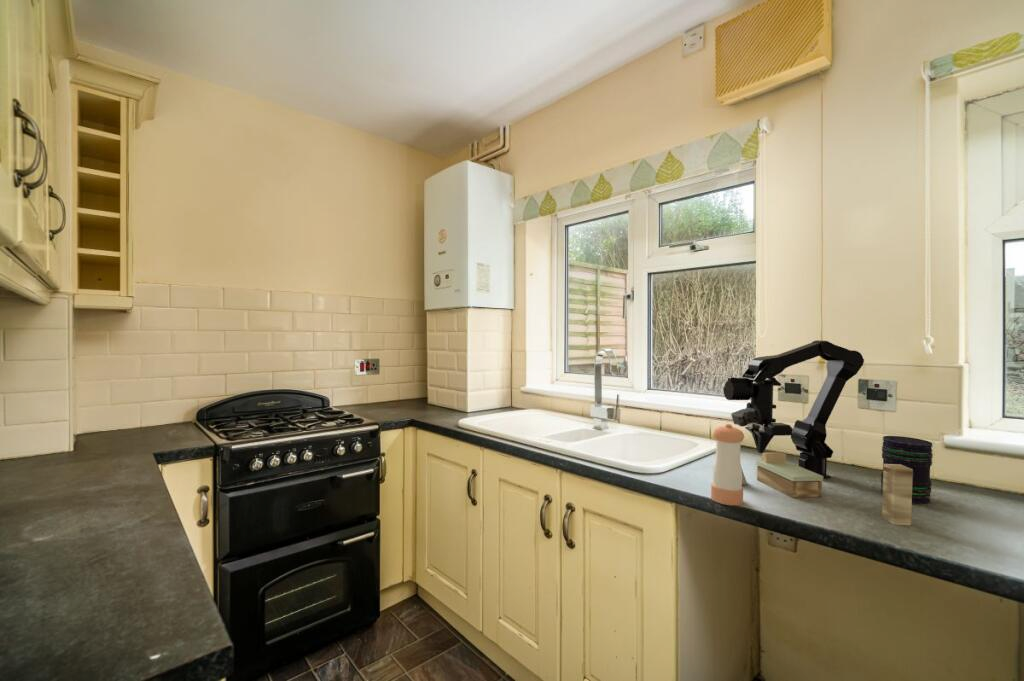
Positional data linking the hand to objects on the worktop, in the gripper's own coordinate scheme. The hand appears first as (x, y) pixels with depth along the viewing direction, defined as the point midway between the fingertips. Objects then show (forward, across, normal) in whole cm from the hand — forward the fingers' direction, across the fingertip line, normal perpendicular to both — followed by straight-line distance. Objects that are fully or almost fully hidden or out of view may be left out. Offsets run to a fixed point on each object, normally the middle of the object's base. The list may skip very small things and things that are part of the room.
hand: (760, 452), depth 134 cm
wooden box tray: (+6, +11, 0) cm, 13 cm away
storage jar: (+7, +20, +26) cm, 34 cm away
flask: (+7, +5, -12) cm, 15 cm away
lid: (+2, +11, 0) cm, 12 cm away
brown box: (+6, +34, +9) cm, 36 cm away
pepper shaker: (+7, +18, -22) cm, 29 cm away
